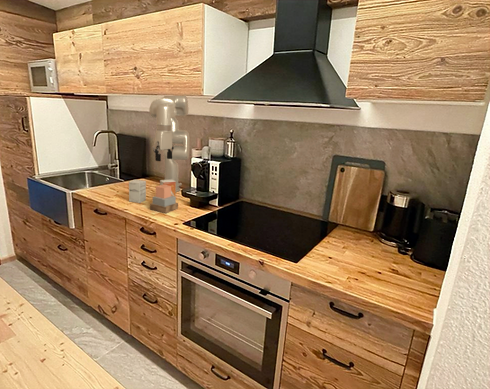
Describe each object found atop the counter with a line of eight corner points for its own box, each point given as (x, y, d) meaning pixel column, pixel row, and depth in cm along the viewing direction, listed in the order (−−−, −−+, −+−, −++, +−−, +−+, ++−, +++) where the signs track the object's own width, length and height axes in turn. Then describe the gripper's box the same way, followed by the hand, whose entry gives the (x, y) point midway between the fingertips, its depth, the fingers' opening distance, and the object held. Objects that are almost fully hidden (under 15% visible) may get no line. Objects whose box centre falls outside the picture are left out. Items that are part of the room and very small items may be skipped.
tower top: (164, 200, 177) (163, 193, 176) (175, 203, 173) (175, 196, 172) (152, 203, 169) (152, 196, 168) (164, 206, 165) (164, 200, 164)
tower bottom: (162, 205, 179) (162, 199, 178) (177, 209, 175) (178, 202, 174) (150, 210, 169) (150, 203, 168) (165, 214, 165) (165, 207, 164)
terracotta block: (162, 194, 174) (162, 184, 172) (171, 196, 172) (171, 186, 170) (155, 196, 169) (155, 186, 167) (164, 198, 166) (164, 188, 165)
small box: (163, 203, 183) (163, 182, 179) (159, 200, 188) (159, 180, 184) (175, 201, 187) (175, 181, 184) (172, 198, 192) (172, 179, 189)
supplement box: (128, 201, 180) (128, 181, 177) (135, 198, 187) (135, 179, 184) (139, 203, 179) (139, 183, 176) (146, 200, 186) (146, 180, 183)
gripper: (168, 127, 170) (168, 157, 174) (147, 128, 154) (147, 160, 159) (179, 128, 167) (179, 159, 171) (158, 129, 151) (158, 162, 156)
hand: (164, 159), depth 165 cm, fingers open, 9 cm apart
